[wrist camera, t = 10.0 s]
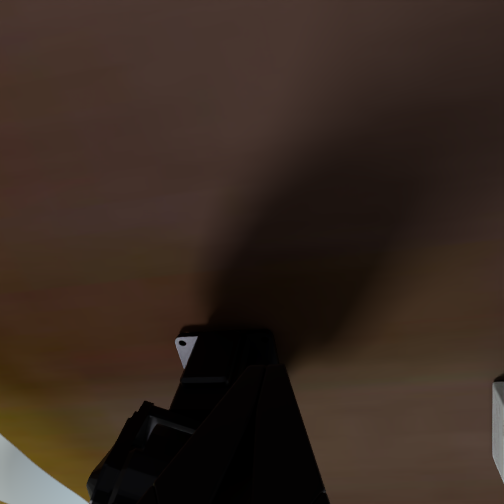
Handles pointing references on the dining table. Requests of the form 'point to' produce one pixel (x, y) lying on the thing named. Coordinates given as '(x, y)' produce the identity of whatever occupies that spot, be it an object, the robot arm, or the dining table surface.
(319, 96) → the dining table surface
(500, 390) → the supplement box
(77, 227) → the dining table surface
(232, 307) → the dining table surface
